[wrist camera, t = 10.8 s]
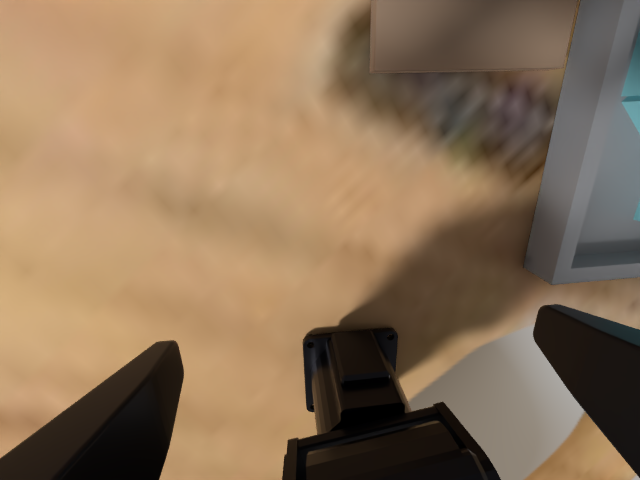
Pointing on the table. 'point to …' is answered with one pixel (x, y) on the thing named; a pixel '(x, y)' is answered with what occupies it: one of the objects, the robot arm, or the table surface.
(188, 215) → the table surface
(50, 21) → the table surface
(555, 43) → the ring
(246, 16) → the table surface
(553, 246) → the tray
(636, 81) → the ring
